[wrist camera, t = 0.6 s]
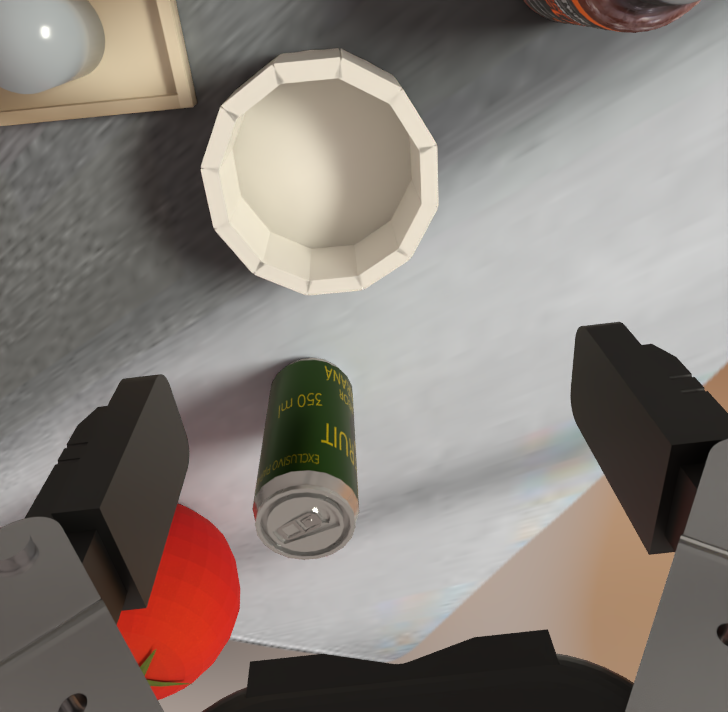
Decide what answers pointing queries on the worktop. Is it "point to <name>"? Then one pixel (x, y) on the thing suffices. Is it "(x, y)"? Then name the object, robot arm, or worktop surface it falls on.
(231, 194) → the bowl
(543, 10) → the supplement bottle
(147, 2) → the parts tray
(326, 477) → the beer can
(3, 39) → the gray metal cylinder
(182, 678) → the red round fruit
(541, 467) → the worktop surface
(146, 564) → the robot arm
